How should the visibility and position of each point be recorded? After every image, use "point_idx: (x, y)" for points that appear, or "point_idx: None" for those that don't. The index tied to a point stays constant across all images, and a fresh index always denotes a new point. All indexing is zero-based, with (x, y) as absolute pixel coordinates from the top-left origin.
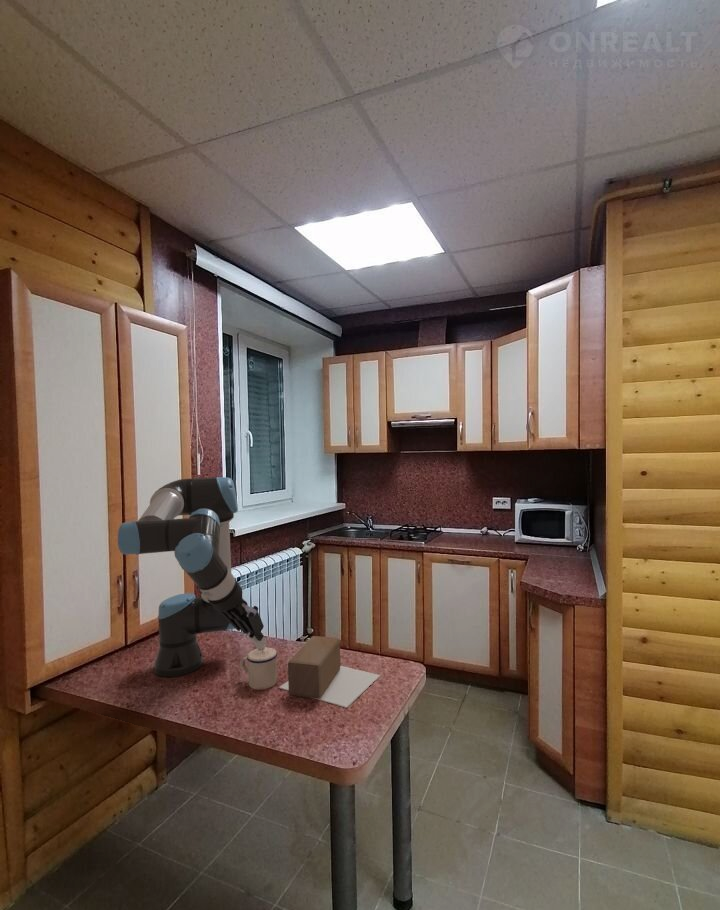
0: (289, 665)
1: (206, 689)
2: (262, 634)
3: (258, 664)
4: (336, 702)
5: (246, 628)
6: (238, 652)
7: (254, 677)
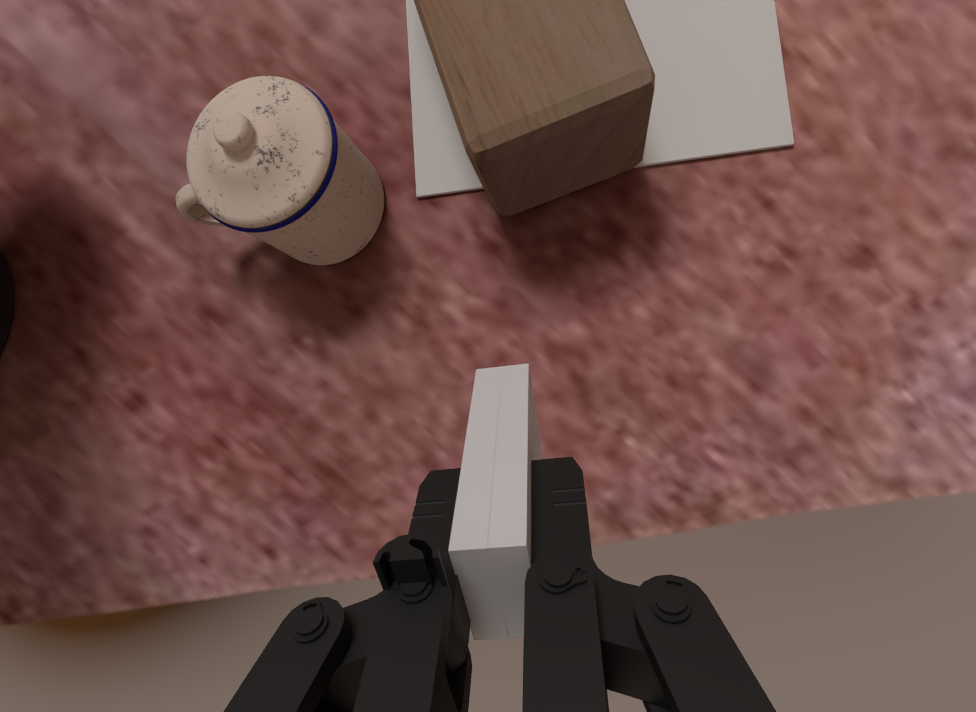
0: (487, 161)
1: (165, 372)
2: (583, 488)
3: (302, 218)
4: (727, 142)
5: (450, 666)
6: (52, 91)
7: (313, 249)
